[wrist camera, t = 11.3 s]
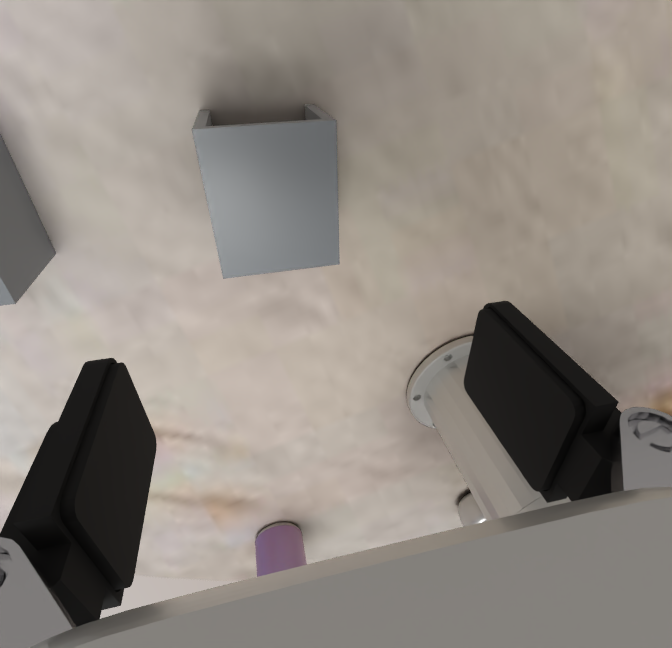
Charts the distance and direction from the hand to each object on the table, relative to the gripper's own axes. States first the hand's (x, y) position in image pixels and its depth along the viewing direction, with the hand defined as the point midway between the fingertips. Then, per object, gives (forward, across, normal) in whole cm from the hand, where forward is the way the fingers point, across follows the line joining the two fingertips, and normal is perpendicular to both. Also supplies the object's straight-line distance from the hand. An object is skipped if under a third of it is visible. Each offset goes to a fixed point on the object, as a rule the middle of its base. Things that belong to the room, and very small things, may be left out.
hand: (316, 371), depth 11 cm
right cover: (+20, 0, 0) cm, 20 cm away
